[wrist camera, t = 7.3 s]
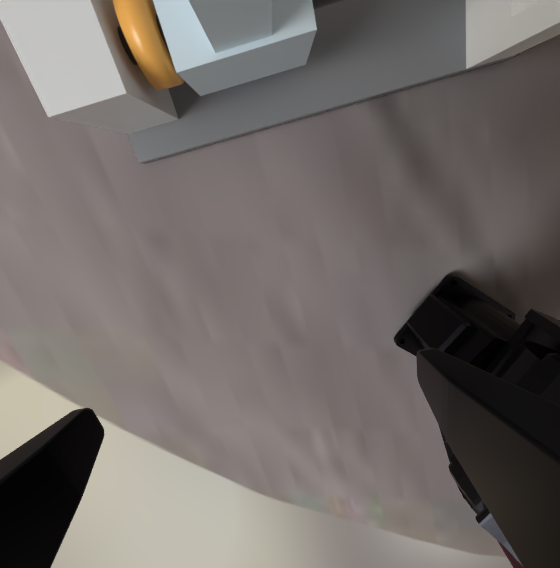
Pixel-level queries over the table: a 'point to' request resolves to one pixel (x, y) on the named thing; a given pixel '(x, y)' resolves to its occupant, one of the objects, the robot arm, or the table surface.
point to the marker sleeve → (235, 39)
